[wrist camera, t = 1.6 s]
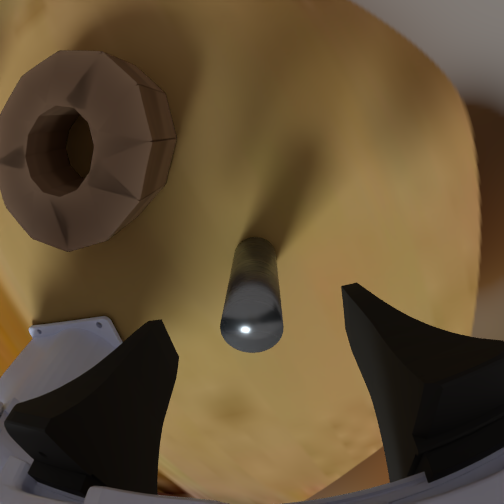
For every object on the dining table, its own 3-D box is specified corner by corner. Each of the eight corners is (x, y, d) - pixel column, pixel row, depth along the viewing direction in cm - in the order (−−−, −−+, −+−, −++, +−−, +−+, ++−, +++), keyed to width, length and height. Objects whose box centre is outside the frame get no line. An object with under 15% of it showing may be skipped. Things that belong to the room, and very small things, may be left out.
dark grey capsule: (240, 278, 19) (229, 356, 12) (229, 242, 18) (212, 308, 11) (279, 270, 18) (288, 347, 12) (271, 233, 17) (276, 296, 11)
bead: (61, 240, 18) (26, 264, 14) (23, 105, 14) (-17, 107, 11) (194, 201, 17) (176, 221, 13) (152, 37, 13) (124, 16, 10)
